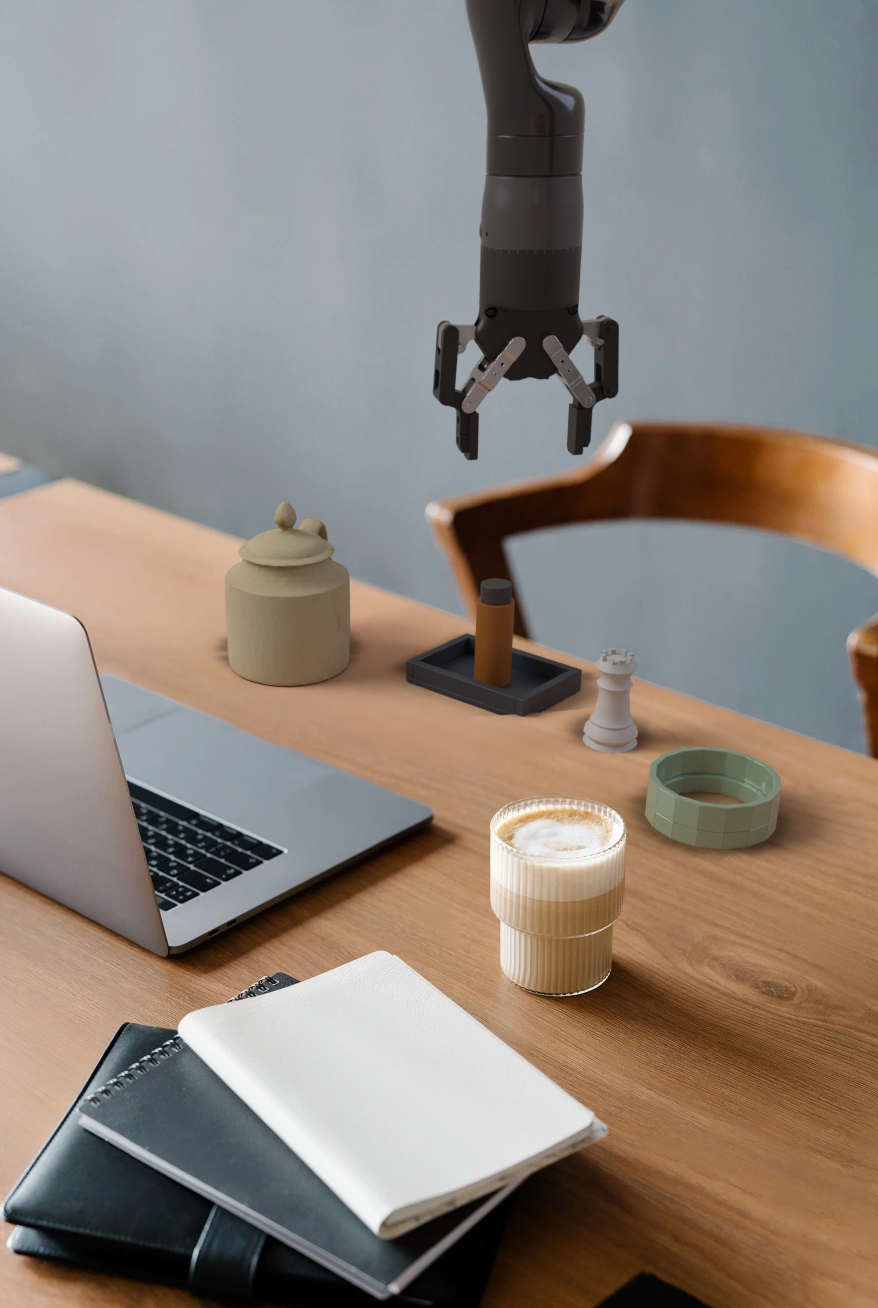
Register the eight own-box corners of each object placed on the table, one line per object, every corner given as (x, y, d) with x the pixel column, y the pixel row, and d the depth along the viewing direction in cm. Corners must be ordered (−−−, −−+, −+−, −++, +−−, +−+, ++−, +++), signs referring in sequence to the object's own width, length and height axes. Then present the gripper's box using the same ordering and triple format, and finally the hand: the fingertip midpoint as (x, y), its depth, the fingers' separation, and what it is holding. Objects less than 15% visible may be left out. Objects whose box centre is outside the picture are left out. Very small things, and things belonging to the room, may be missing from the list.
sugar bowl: (215, 629, 133) (207, 475, 126) (328, 620, 135) (326, 468, 129) (237, 692, 120) (230, 524, 113) (362, 680, 122) (362, 515, 116)
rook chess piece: (569, 745, 111) (576, 653, 108) (605, 729, 114) (612, 638, 110) (613, 764, 108) (622, 670, 105) (649, 747, 111) (658, 654, 107)
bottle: (505, 672, 123) (510, 575, 119) (514, 687, 120) (519, 588, 116) (470, 674, 122) (473, 577, 118) (478, 689, 120) (482, 591, 116)
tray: (580, 690, 121) (582, 669, 120) (522, 722, 115) (523, 701, 114) (465, 652, 128) (466, 632, 127) (405, 681, 122) (406, 660, 121)
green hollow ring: (742, 796, 104) (749, 742, 102) (794, 858, 96) (803, 801, 94) (626, 806, 103) (631, 751, 100) (670, 870, 95) (676, 812, 93)
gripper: (448, 248, 99) (445, 472, 106) (640, 242, 101) (624, 463, 108) (427, 236, 106) (425, 448, 113) (607, 231, 108) (595, 439, 115)
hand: (523, 455), depth 111 cm, fingers open, 8 cm apart
